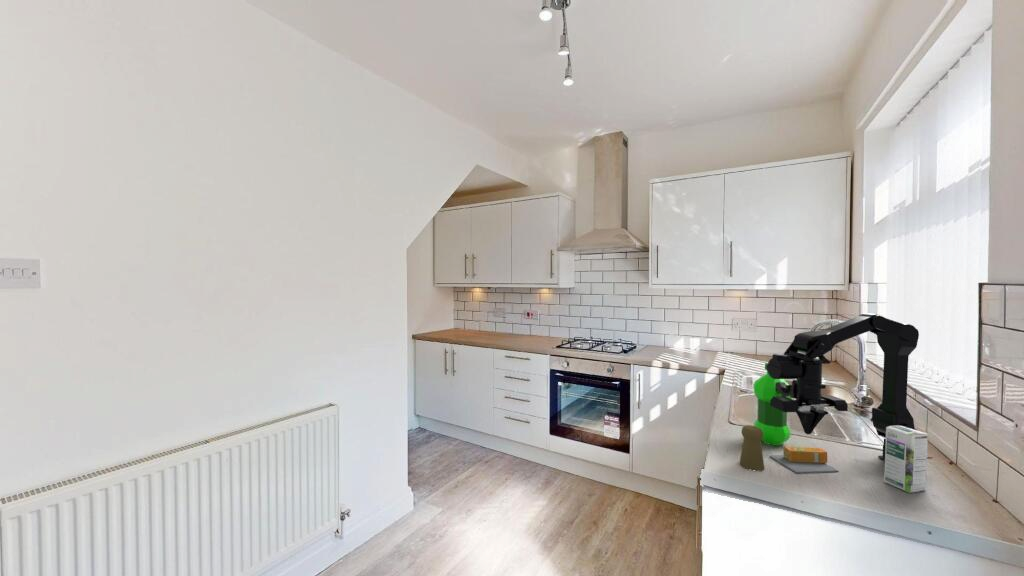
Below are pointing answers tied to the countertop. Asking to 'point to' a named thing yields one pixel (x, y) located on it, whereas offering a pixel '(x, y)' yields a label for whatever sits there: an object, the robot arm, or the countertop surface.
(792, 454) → the supplement box
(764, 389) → the plastic bottle
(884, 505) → the countertop surface
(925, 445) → the syrup box
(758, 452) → the cork
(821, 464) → the rubber mat
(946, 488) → the countertop surface
